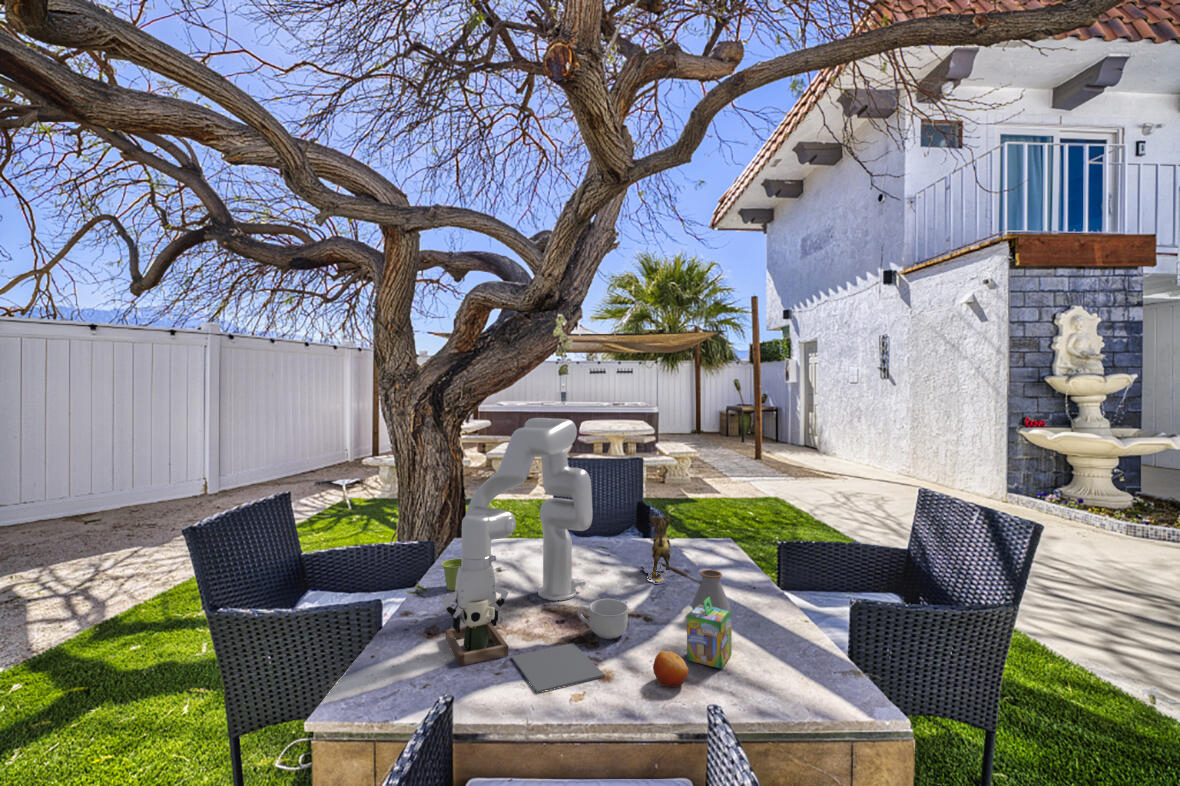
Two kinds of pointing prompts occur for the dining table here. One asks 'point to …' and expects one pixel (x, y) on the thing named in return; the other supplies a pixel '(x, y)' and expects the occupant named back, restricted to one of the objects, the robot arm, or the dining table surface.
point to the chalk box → (709, 635)
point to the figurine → (660, 545)
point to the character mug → (476, 624)
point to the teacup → (606, 617)
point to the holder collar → (477, 655)
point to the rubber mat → (556, 667)
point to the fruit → (670, 669)
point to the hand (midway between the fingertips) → (475, 627)
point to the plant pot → (451, 572)
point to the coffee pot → (707, 588)
